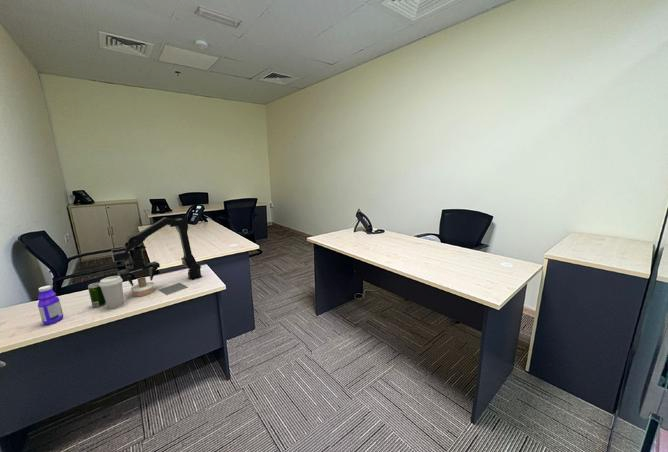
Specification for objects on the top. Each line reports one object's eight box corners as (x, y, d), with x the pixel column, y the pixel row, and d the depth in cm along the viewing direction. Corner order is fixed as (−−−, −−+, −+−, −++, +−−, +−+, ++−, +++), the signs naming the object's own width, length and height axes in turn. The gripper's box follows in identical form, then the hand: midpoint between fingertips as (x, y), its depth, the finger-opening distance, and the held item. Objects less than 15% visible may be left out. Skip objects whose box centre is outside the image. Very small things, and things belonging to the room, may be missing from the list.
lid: (150, 281, 158) (148, 273, 157) (157, 286, 151) (156, 277, 150) (128, 288, 149) (126, 279, 148) (135, 293, 143) (133, 284, 142)
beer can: (104, 306, 137) (99, 285, 135) (91, 308, 135) (85, 287, 132) (107, 301, 142) (102, 281, 139) (94, 304, 140) (89, 283, 137)
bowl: (150, 288, 158) (149, 282, 157) (156, 292, 152) (155, 286, 151) (131, 294, 150) (130, 288, 149) (137, 298, 145) (136, 292, 144)
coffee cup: (132, 301, 142) (126, 275, 139) (116, 310, 133) (110, 283, 129) (116, 300, 143) (110, 275, 140) (99, 310, 134) (92, 282, 130)
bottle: (54, 317, 128) (45, 284, 124) (67, 316, 128) (58, 283, 125) (39, 326, 121) (29, 291, 117) (53, 325, 121) (43, 290, 118)
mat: (179, 283, 163) (179, 282, 163) (188, 287, 156) (188, 287, 156) (157, 290, 154) (157, 289, 154) (166, 295, 147) (166, 295, 147)
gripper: (150, 250, 158) (154, 274, 162) (111, 259, 144) (117, 285, 147) (158, 253, 152) (162, 278, 155) (118, 263, 137) (124, 290, 141)
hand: (142, 283), depth 150 cm, fingers open, 9 cm apart
